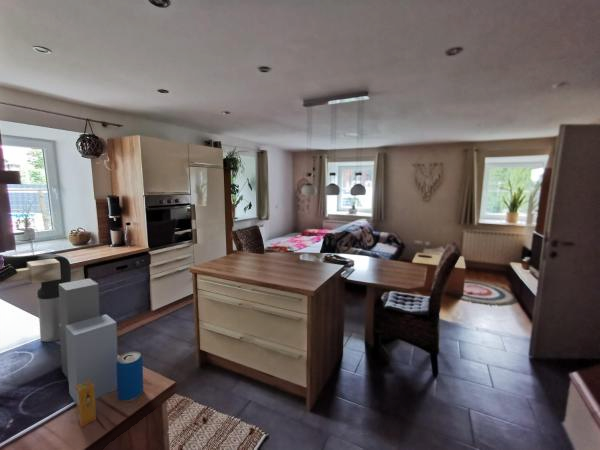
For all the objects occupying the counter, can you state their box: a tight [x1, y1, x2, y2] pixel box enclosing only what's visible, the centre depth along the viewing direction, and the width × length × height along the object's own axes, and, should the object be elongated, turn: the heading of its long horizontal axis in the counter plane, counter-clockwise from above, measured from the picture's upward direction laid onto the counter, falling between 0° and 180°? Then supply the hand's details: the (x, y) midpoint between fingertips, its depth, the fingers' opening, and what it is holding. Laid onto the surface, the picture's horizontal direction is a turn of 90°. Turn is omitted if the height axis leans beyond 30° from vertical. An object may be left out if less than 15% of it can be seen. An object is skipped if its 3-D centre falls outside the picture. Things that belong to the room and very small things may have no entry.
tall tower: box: [59, 278, 101, 381], centre depth 89 cm, size 12×8×30 cm, turn 53°
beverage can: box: [116, 351, 144, 402], centre depth 81 cm, size 6×6×12 cm
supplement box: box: [75, 380, 97, 428], centre depth 72 cm, size 3×3×10 cm
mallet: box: [2, 259, 61, 285], centre depth 76 cm, size 16×6×5 cm, turn 143°
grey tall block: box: [65, 314, 119, 405], centre depth 82 cm, size 8×10×21 cm
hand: (13, 268), depth 74 cm, fingers closed on mallet
